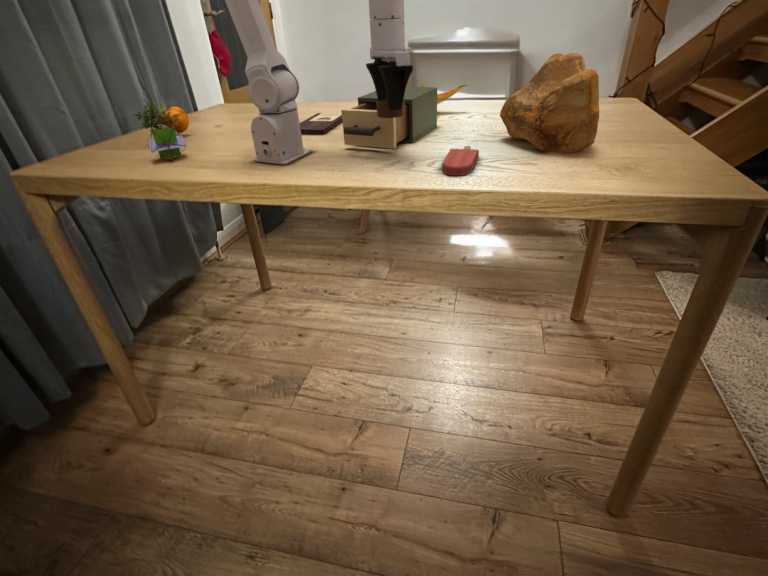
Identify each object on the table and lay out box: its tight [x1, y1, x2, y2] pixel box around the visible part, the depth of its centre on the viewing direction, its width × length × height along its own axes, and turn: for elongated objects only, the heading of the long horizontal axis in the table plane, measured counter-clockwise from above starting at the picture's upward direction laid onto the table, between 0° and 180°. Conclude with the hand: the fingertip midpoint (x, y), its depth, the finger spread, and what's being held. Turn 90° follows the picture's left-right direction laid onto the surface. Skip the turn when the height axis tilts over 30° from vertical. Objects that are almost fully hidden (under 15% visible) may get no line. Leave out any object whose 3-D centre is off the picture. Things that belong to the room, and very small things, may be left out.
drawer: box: [340, 102, 409, 150], centre depth 88 cm, size 18×11×7 cm, turn 154°
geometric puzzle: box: [146, 125, 187, 162], centre depth 88 cm, size 7×7×8 cm
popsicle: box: [441, 145, 480, 176], centre depth 78 cm, size 5×2×15 cm
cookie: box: [376, 99, 404, 118], centre depth 78 cm, size 5×5×2 cm
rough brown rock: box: [499, 52, 600, 153], centre depth 83 cm, size 23×17×15 cm
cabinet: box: [357, 86, 438, 144], centre depth 96 cm, size 15×13×9 cm
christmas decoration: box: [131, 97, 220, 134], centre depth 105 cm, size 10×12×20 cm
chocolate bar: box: [299, 112, 342, 135], centre depth 109 cm, size 9×1×18 cm
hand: (390, 107), depth 78 cm, fingers closed on cookie, 5 cm apart
